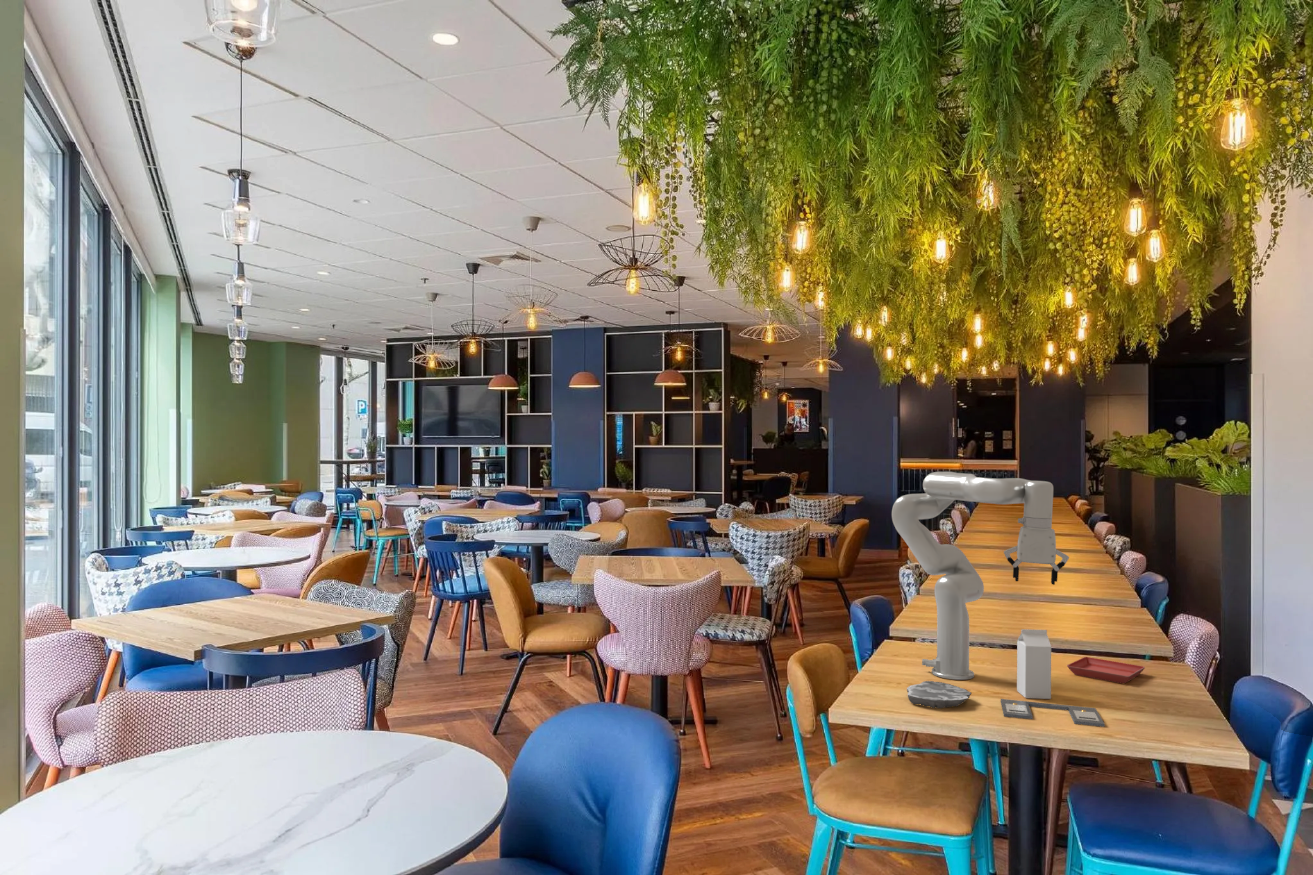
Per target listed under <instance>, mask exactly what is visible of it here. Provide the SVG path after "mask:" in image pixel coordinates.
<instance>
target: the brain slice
mask: <svg viewBox="0 0 1313 875" xmlns="http://www.w3.org/2000/svg"><path fill="white" fill-rule="evenodd" d="M906 691H907V698H908V701H909V702H910V703H911V704H912V703H913V705H915V704H921V705H920V706H923V705H924V707H927V706H930V707H929V708H931V707H932V708H931V709H944V708H953V707H952V706H954V707H955V706H956V707H958V706H960V705H961V704H963V703H965V702H966V701H967V700H969V698H970V697H971V695H972V691H969V690H967V688H966V689H965V688H962V687H960V686H957V685H954V684H950V683H946V682H942V681H933V680H926V681H925V680H924V681H922V682H921V683H917V684H912V685H909V686H907V687H906ZM935 707H936V708H935Z"/></svg>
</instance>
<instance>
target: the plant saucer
mask: <svg viewBox="0 0 1313 875" xmlns="http://www.w3.org/2000/svg"><path fill="white" fill-rule="evenodd" d="M1066 667H1067V668H1068V669H1069V670H1070V671H1071V673H1073V675H1074V676H1078V677H1079V676H1080V677H1085V678H1091V679H1094V680H1095V679H1096V680H1101V681H1107V682H1111V681H1112V683H1117V684H1122V683H1124V684H1126V683H1128V682H1130V681H1129V680H1134V679H1135V678H1136V677H1139V675H1140V674H1141V673H1142V672H1143V671H1144V670H1145V669H1146V667H1145V666H1142V665H1137V664H1131V663H1126V662H1120V661H1113V660H1107V659H1102V658H1095V657H1090V656H1089V657H1088V656H1084V657H1081V658H1079V659H1077V660H1075V661H1073V662H1071V663H1069V664H1066ZM1134 677H1135V678H1134Z"/></svg>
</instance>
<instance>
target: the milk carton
mask: <svg viewBox="0 0 1313 875" xmlns="http://www.w3.org/2000/svg"><path fill="white" fill-rule="evenodd" d="M1020 632H1021V633H1020V634H1019V636H1018V639H1017V643H1016V646H1017V648H1016V651H1017V653H1016V664H1017V665H1016V691H1017V692H1018V693H1019V694H1020V695H1021V696H1023V697H1024V699H1041V700H1043V699H1045V700H1051V699H1052V644H1051V643H1050V639H1049V636H1048V630H1047V629H1029V628H1028V629H1027V628H1026V629H1021V631H1020Z"/></svg>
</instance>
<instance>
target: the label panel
mask: <svg viewBox="0 0 1313 875" xmlns="http://www.w3.org/2000/svg"><path fill="white" fill-rule="evenodd" d="M1000 704H1001V710H1002V715H1003V717H1006V718H1016V719H1025V720H1034V716H1033V714H1032V711H1031V708H1040V709H1041V708H1042V709H1049V710H1051V709H1052V710H1061V711H1063V710H1064V711H1068V713H1069V715H1070V717H1071V719H1072V721H1073V723H1074V725H1081V724H1082V725H1083V726H1090V727H1091V726H1092V727H1100V726H1101V727H1102V728H1105V726H1106V725H1105V722H1104V721H1103V718H1102V717H1101V715H1100V713H1099V712H1098V710H1097V709H1096V708H1095V707H1089V706H1078V705H1077V706H1076V705H1069V704H1068V705H1067V704H1058V703H1047V702H1036V701H1027V700H1018V699H1017V700H1015V699H1009V698H1008V699H1007V698H1005V699H1004V698H1000ZM1029 706H1030V707H1029ZM1082 725H1081V726H1082Z"/></svg>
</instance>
